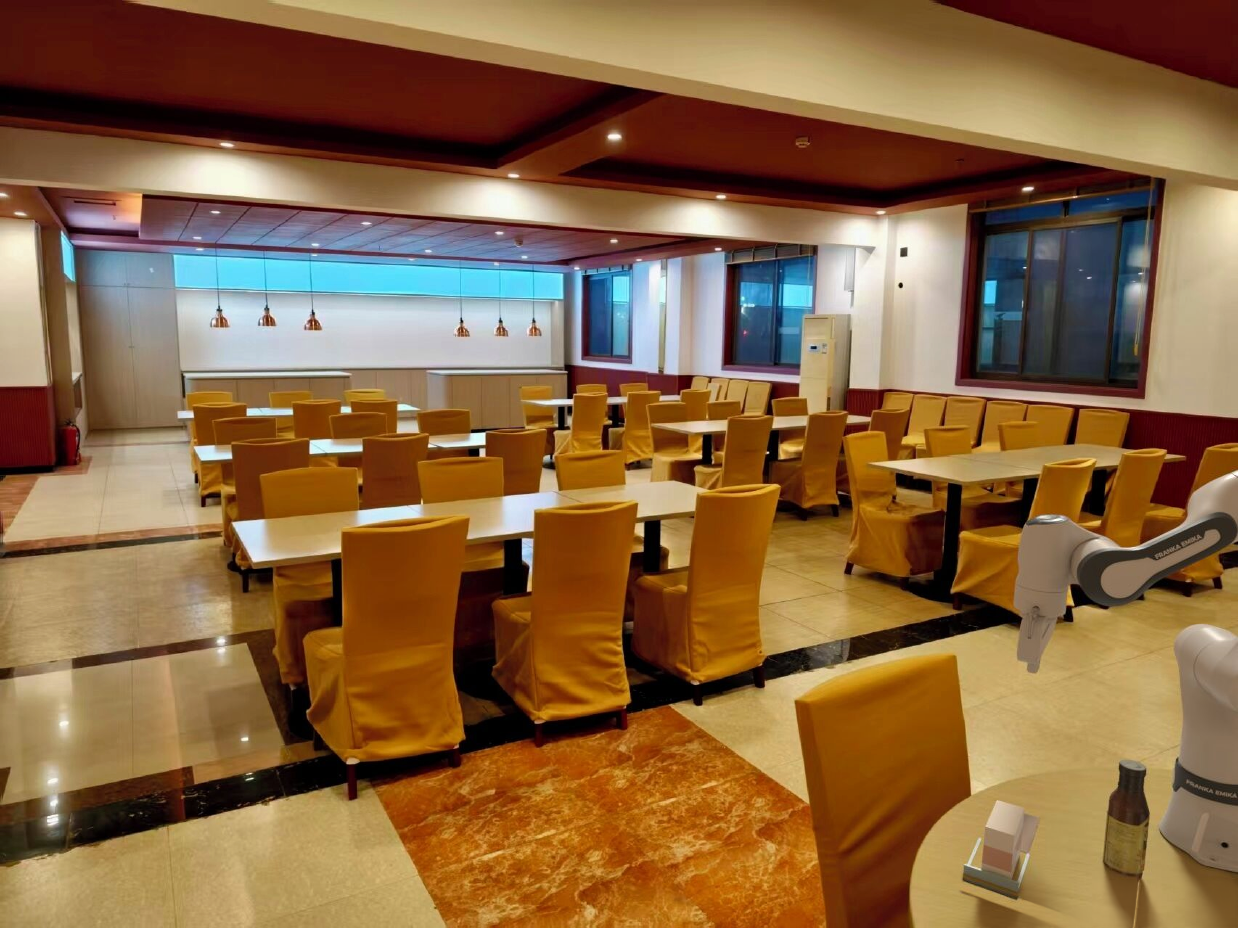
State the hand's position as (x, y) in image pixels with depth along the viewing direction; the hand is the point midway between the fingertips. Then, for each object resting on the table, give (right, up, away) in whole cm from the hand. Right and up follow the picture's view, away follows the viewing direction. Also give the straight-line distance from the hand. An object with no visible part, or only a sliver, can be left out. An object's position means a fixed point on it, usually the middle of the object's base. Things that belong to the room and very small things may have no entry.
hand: (1033, 670), depth 161 cm
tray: (-13, -31, -14) cm, 37 cm away
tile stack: (-13, -31, -14) cm, 36 cm away
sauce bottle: (+9, -32, -13) cm, 36 cm away
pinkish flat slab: (-5, -30, -3) cm, 31 cm away
